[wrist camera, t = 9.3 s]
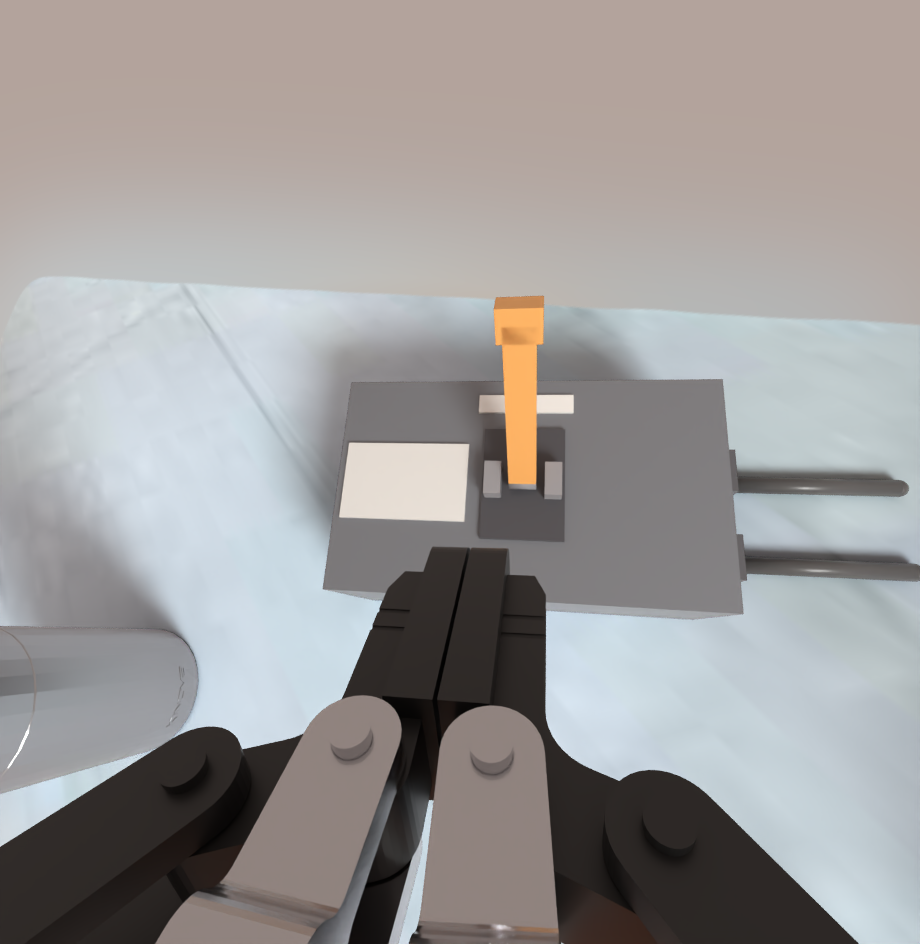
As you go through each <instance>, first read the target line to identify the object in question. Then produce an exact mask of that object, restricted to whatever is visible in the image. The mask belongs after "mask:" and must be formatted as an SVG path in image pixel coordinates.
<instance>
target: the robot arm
mask: <svg viewBox="0 0 920 944" xmlns="http://www.w3.org/2000/svg"><path fill="white" fill-rule="evenodd" d="M197 687H198V672H197V666H196V662H195V659H194V656H193V654H192V652H191V650H190V648H189V647H188V645H187V644H186V643H185V642H184V641H183V640H182V639H181V638H180V637H178V636H176V635H175V634H173V633H171V632H168V631H165V630H159V629H124V628H82V627H29V626H0V794H2V793H6V792H9V791H13V790H16V789H19V788H23V787H26V786H30V785H33V784H37V783H40V782H44V781H47V780H51V779H54V778H57V777H61V776H64V775H68V774H71V773H75V772H78V771H82V770H85V769H88V768H92V767H95V766H99V765H102V764H106V763H110V762H113V761H117V760H120V759H123V758H127V757H130V756H134V755H137V754H141V753H144V752H147V751H150V750H153V749H155V748H157V749H155V750H154V751H152V752H150V753H149V754H147V755H146V756H144V757H142V758H141V759H139V760H138V761H136V762H134V763H133V764H131V765H130V766H128V767H127V768H125V769H123V770H122V771H120V772H119V773H117V774H115V775H114V776H112V777H111V778H109V779H107V780H106V781H104V782H103V783H101V784H99V785H98V786H96V787H95V788H93V789H92V790H90V791H88V792H87V793H85V794H84V795H82V796H80V797H79V798H77V799H76V800H74V801H72V802H71V803H69V804H68V805H66V806H65V807H63V808H61V809H60V810H58V811H57V812H55V813H53V814H52V815H50V816H49V817H47V818H45V819H44V820H42V821H41V822H39V823H37V824H36V825H34V826H33V827H31V828H30V829H28V830H26V831H25V832H23V833H22V834H20V835H18V836H17V837H15V838H14V839H12V840H10V841H9V842H7V843H6V844H4V845H3V846H1V847H0V944H398V943H399V939H400V936H401V932H402V928H403V924H404V920H405V917H406V913H407V909H408V905H409V901H410V897H411V894H412V890H413V886H414V882H415V878H416V874H417V871H418V867H419V863H420V859H421V854H422V832H423V827H424V822H425V817H426V812H427V807H428V802H429V800H434V802H433V811H432V819H431V828H430V836H429V845H428V853H427V862H426V870H425V879H424V888H423V896H422V904H421V912H420V917H419V922H418V926H417V929H416V931H415V932H414V933H413V934H412V936H411V938H410V941H409V944H561V942H562V943H564V944H859V943H858V942H857V941H855V940H854V939H853V938H852V937H851V936H850V935H849V934H848V933H847V932H846V931H845V930H844V929H843V928H842V927H841V926H840V925H839V924H838V923H837V922H836V921H835V920H834V919H833V918H832V917H831V916H830V915H829V914H828V913H827V912H826V911H825V910H824V909H823V908H822V907H821V906H820V905H819V904H818V903H817V902H816V901H815V900H814V899H813V898H812V897H811V896H810V895H809V894H808V893H807V892H806V891H805V890H804V889H803V888H802V887H801V886H800V885H799V884H798V883H797V882H796V881H795V880H794V879H793V878H792V877H791V876H790V875H789V874H788V873H787V872H786V871H784V870H783V869H782V868H781V867H780V866H779V865H778V864H777V863H776V862H775V861H774V860H773V859H772V858H771V857H770V856H769V855H768V854H767V853H766V852H765V851H764V850H763V849H762V848H761V847H760V846H759V845H758V844H757V843H756V842H755V841H754V840H753V839H752V838H751V837H750V836H749V835H748V834H747V833H746V832H745V831H744V830H743V829H742V828H741V827H740V826H739V825H738V824H737V823H736V822H735V821H734V820H733V819H732V818H731V817H730V816H729V815H728V814H727V813H726V812H725V811H724V810H723V809H722V808H721V807H720V806H719V805H718V804H717V803H716V802H715V801H713V800H712V799H711V798H710V797H709V796H708V795H707V794H706V793H705V792H704V791H703V790H701V789H700V788H699V787H697V786H696V785H694V784H693V783H691V782H690V781H688V780H686V779H684V778H682V777H680V776H677V775H674V774H672V773H668V772H664V771H657V770H646V771H639V772H636V773H632V774H630V775H628V776H626V777H624V778H623V779H622V780H620V781H618V780H616V779H613V778H611V777H608V776H606V775H604V774H601V773H599V772H597V771H594V770H592V769H590V768H588V767H586V766H584V765H582V764H580V763H578V762H577V761H575V760H574V759H572V758H571V757H570V756H569V755H568V754H566V753H565V752H564V751H563V750H562V749H561V747H560V746H559V745H558V744H557V743H556V741H555V739H554V738H553V736H552V735H551V732H550V730H549V728H548V725H547V721H546V713H545V692H546V594H545V592H544V590H543V589H542V587H541V585H540V584H539V582H538V580H537V579H536V577H535V576H528V575H510V559H509V549H508V548H475V547H472V548H471V550H470V548H469V547H435V546H433V547H432V548H431V550H430V553H429V556H428V559H427V562H426V565H425V568H424V571H423V572H415V571H405V572H404V573H403V574H402V575H401V576H400V577H399V578H398V579H397V580H396V581H395V582H394V583H392V584H391V585H390V586H389V587H388V589H387V591H386V594H385V596H384V599H383V601H382V603H381V606H380V611H379V612H378V613H377V616H376V618H375V620H374V623H373V628H372V630H370V633H369V635H368V637H367V640H366V642H365V645H364V647H363V650H362V652H361V654H360V657H359V659H358V662H357V664H356V666H355V669H354V671H353V674H352V676H351V679H350V681H349V683H348V686H347V688H346V691H345V693H344V695H343V697H342V699H341V700H339V701H337V702H335V703H333V704H331V705H329V706H328V707H326V708H325V709H323V710H322V711H321V712H320V713H319V714H318V715H317V716H316V717H315V718H314V719H313V720H312V721H311V723H310V724H309V726H308V727H307V729H306V731H305V733H304V734H302V735H299V736H297V737H294V738H291V739H287V740H283V741H278V742H274V743H269V744H265V745H260V746H256V747H251V748H247V749H242V748H241V746H240V743H239V741H238V739H237V738H236V736H235V735H234V734H233V733H231V732H230V731H228V730H226V729H223V728H220V727H202V728H197V729H193V730H190V731H187V732H185V733H183V734H180V735H178V736H176V737H175V738H173V739H171V738H172V737H173V736H174V735H175V734H176V733H177V732H178V731H179V730H180V729H181V727H182V726H183V724H184V723H185V722H186V720H187V718H188V716H189V714H190V712H191V710H192V708H193V705H194V702H195V698H196V695H197ZM170 739H171V740H170ZM167 741H168V742H167ZM164 743H165V744H164Z"/></svg>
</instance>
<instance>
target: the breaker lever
mask: <svg viewBox="0 0 920 944" xmlns="http://www.w3.org/2000/svg"><path fill="white" fill-rule="evenodd" d="M494 322H495V340H496V345H502V353H503V374H504V396H505V418H506V439H507V461H508V483H509V489H527V490H536V476H537V345H539V344H543V332H544V296H528V297H527V296H526V297H497V298H496V300H495V306H494Z"/></svg>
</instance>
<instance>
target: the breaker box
mask: <svg viewBox="0 0 920 944" xmlns="http://www.w3.org/2000/svg"><path fill="white" fill-rule="evenodd" d="M908 491H909V486H908V485H907V483H906V482H904V481H901V480H870V479H819V478H767V477H737V466H736V456H735V450H729V445H728V434H727V423H726V412H725V400H724V389H723V379H703V380H587V381H537V476H536V490H527V489H509V483H508V461H507V439H506V418H505V396H504V381H471V382H355V383H351V390H350V398H349V405H348V412H347V419H346V426H345V433H344V440H343V448H342V455H341V462H340V469H339V476H338V483H337V490H336V498H335V505H334V512H333V519H332V526H331V533H330V540H329V548H328V555H327V562H326V569H325V576H324V583H323V589H324V590H329V591H333V592H338V593H343V594H347V595H352V596H357V597H361V598H366V599H371V600H381V601H383V599H384V596H385V594H386V591H387V589H388V587H389V586H390V585H391V584H392V583H394V582H395V581H396V580H397V579H398V578H399V577H400V576H401V575H402V574H403V573H404V572H405V571H415V572H423V571H424V568H425V565H426V562H427V559H428V556H429V553H430V550H431V548H432V547H433V546H435V547H469V548H470V550H471V548H472V547H475V548H508V549H509V559H510V575H528V576H535V577H536V579H537V580H538V582H539V584H540V585H541V587H542V589H543V590H544V592H545V594H546V611H560V612H577V613H593V614H609V615H626V616H642V617H658V618H674V619H691V620H694V619H703V618H712V617H721V616H730V615H739V614H743V603H742V591H741V582H742V581H746V580H747V574H766V575H787V576H808V577H829V578H851V579H872V580H893V581H914V582H915V581H920V566H919V565H917V564H907V563H884V562H860V561H836V560H813V559H789V558H766V557H745V553H744V542H743V535H741V534H736V524H735V513H734V502H733V495H734V494H736V493H765V494H806V495H847V496H889V497H900V496H904V495H906V494H907V493H908Z"/></svg>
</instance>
